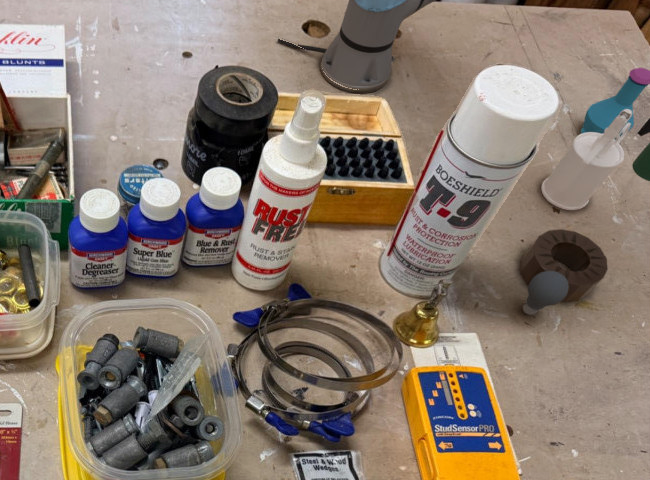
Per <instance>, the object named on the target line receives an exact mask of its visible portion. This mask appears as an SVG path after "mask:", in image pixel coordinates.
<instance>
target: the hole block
mask: <svg viewBox="0 0 650 480" xmlns="http://www.w3.org/2000/svg"><path fill="white" fill-rule="evenodd" d="M556 261H557V262H560V263H561V264H563V265H565V266H566V267H567V268H569V269H570V270H568V269H566V268H564V267H562V266H560V265H559V264H558V263H557V262H556ZM519 266H520V267H519V269H520V274H521V276H522V278H523V280H524V282H525V283H526V284H527V285H528V286H529V283H530V281H531V280H532V279H533V277H535V276H536V275H537V274H539V273H541V272H545V271H555V272H558V273H560V274H562V275H563V276H564V277H565V278H566V279H567V281H568V285H569V288H568V293H567V295H566V296H565V298H564V299H563V300H562V301H561V302H560V303H570V302H578V301H580V300H581V299H583V298H584V297H586V296H588V294H589V293H591V292H592V291H593V290H594V288H596V286H597V285H599V283H600V282H602V280H604V278H605V276H606V274H607V272H608V270H609V268H608V267H609V266H608V259H607V257H606V255H605V253H604V251H603V250H602V248H601V247H600V246H599V245H598V244H597V243H595V242H594V241H593V240H591V238H589V237H587V236H585V235H583V234H581V233H579V232H576V231H573V230H568V229H564V228H559V229H551V230H547V231H545V232H544V233H542V234H540V235H538V236H537V237H536V239H535V240H534V241H533V243H532V244H531V245H530V247H528V249H527V250H526V251H525V253H524V254H523V256H522V257H521V259H520V261H519Z"/></svg>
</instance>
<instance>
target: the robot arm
mask: <svg viewBox="0 0 650 480" xmlns="http://www.w3.org/2000/svg"><path fill="white" fill-rule="evenodd" d="M436 1H437V0H348V3H347V6H346V9H345V12H344V15H343V18H342V23H341V26H340V29H339V31H338V33H337V34H336V36H335V37H334V38H333V40H332V41H331V43H330V44H329V46H328V47H327V48H323V47H319V46H313V45H306V44H299V43H297V44H298V46H300V47H302V48H300V47H298V46H296V45H294V44H292V43H293V42H292V43H289V42H290V41H289V42H286V41H283V40H280V39H279V38H278V39H277V43H280V44H283V45H284V46H287V47H290V48H292V49H296V50H302V51H303V50H304V51H311V52H316V53H322V59H321V61H322V62H321V61H320V64H319V65H320V66H319V67H320V72H321V75H322V76H323V78H324V79H325V80H326V81H327V82H328V83H329V84H331V85H332V86H333V87H335V88H337V89H339V90H342V91H345V92H348V93H353V94H367V93H368V94H369V93H373V92H376V91H379V90H380V89H382V88H383V87H384V86H385V85H386V84H387V82H388V81H389V78H390V75H391V72H392V64H394V63H395V62H396V57H394V56H393V45H394V43H395V40H396V37H397V35H398V32H399V30H400V27H401V24H402V23H403V21H404V20H406V19H407V18H409V17H410V16H413V15H414V14H415V13H417V12H418V11H420V10H422V9H423V8H425V7H426V6H428V5H431V4H432V3H434V2H436ZM303 48H304V49H303ZM305 49H306V50H305ZM321 64H322V66H321ZM322 68H323V69H322ZM323 71H324V72H325V73H326V75H327V76H328V77H329V78H331V79H332V80H333V81H335V82H337V83H339V84H341V85H343V86H345V87H348V88H345V87H342V86H340V85H338V84H336V83H334V82H333V81H331V80H330V79H329V78H328V77H327V76H326V75H325V73H324V72H323ZM349 88H352V89H349ZM353 89H357V90H353ZM358 89H359V90H358ZM636 134H637V135H639V137H643V136H646V135H647V134H650V118H648V119H647V121H646V122H644V124H643V125H642V127H640V128H639V130H638V131H637V132H636Z"/></svg>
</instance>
